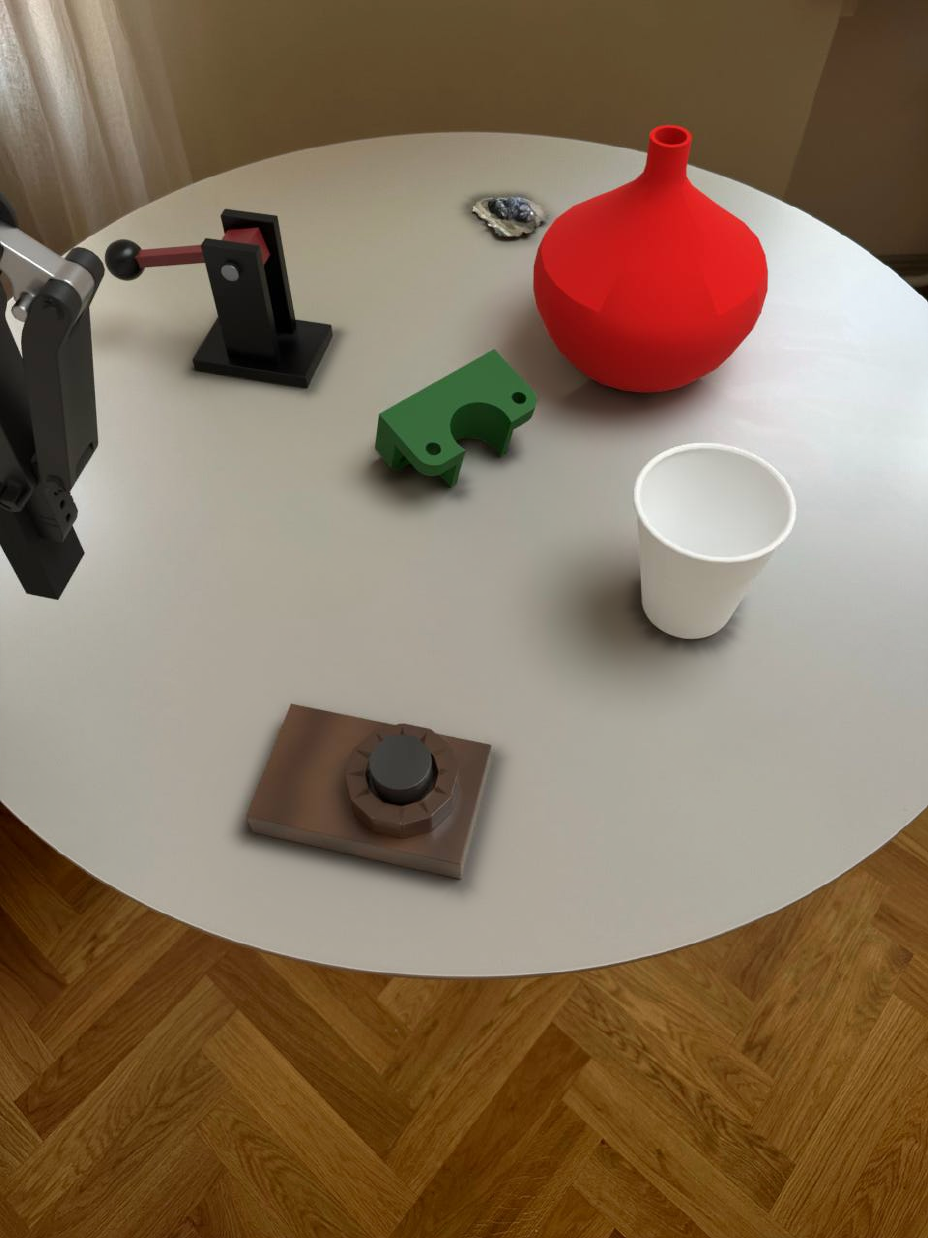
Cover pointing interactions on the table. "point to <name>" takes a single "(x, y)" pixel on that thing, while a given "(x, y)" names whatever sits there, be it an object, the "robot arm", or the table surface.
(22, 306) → the robot arm
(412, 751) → the button
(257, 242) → the ball knob lever
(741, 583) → the cup
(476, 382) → the clamp
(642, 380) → the vase
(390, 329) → the table surface
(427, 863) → the button block
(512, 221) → the grey flat irregular piece
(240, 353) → the black bracket
